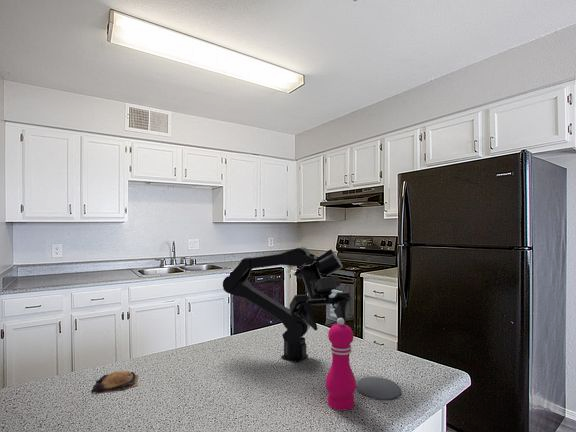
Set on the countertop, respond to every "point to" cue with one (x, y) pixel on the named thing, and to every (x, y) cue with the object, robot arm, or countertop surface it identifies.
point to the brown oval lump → (115, 382)
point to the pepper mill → (340, 368)
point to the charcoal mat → (378, 388)
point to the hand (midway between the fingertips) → (330, 328)
